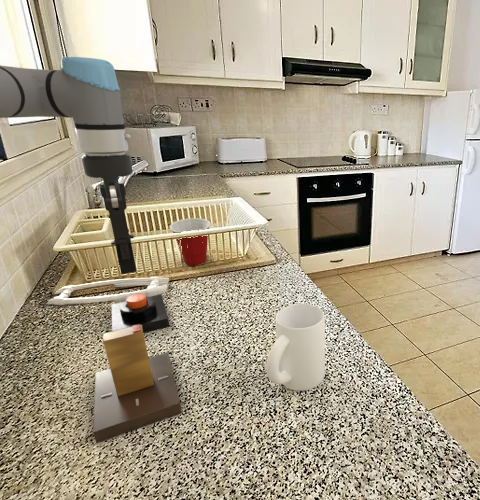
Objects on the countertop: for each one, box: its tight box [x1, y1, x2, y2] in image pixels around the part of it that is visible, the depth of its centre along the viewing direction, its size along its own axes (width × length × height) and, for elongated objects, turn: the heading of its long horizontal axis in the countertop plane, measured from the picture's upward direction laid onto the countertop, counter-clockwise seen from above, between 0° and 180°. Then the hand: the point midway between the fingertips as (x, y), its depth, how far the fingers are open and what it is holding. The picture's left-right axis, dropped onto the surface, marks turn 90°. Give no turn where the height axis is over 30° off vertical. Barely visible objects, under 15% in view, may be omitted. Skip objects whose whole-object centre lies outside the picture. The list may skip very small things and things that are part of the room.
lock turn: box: [102, 324, 154, 396], centre depth 57 cm, size 5×2×10 cm, turn 121°
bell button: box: [126, 294, 147, 309], centre depth 79 cm, size 4×4×2 cm
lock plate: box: [92, 352, 183, 444], centre depth 59 cm, size 14×11×2 cm
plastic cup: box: [168, 217, 212, 266], centre depth 107 cm, size 11×11×12 cm
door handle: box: [46, 276, 170, 306], centre depth 89 cm, size 3×10×25 cm
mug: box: [265, 303, 326, 392], centre depth 61 cm, size 8×12×12 cm
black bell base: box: [110, 293, 171, 334], centre depth 80 cm, size 12×10×4 cm
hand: (128, 271), depth 76 cm, fingers closed
